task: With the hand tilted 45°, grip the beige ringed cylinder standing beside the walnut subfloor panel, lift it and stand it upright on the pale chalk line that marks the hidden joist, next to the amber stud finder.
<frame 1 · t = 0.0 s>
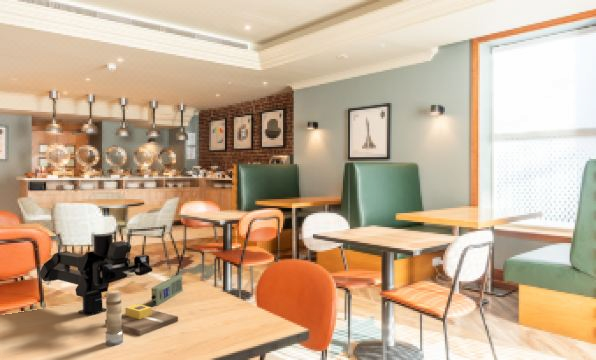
hand: (139, 272, 131), 17 cm above the table, tool horizontal, fingers open, 9 cm apart
stud finder: (138, 315, 137), point 2 cm above the table, touching subfloor panel
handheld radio: (164, 301, 159), on the table
subfloor panel: (142, 322, 135), on the table
beige ringed cylinder: (114, 342, 119), on the table
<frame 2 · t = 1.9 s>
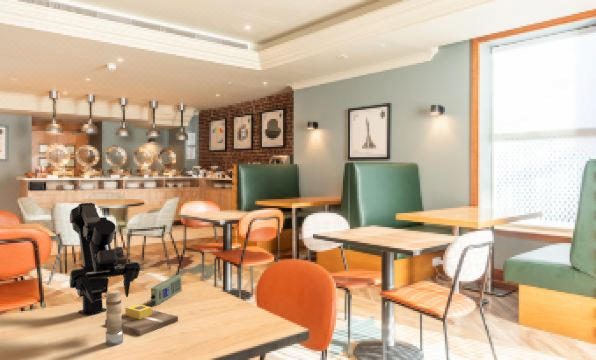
hand: (110, 299, 122), 11 cm above the table, tool tilted 45°, fingers open, 9 cm apart
nothing on the table moved.
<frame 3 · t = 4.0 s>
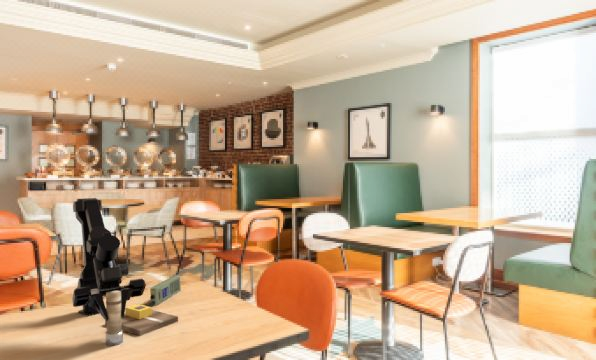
hand: (115, 318, 118), 7 cm above the table, tool tilted 45°, fingers closed on beige ringed cylinder, 4 cm apart
beige ringed cylinder: (114, 342, 119), on the table, touching gripper
everything else where it was.
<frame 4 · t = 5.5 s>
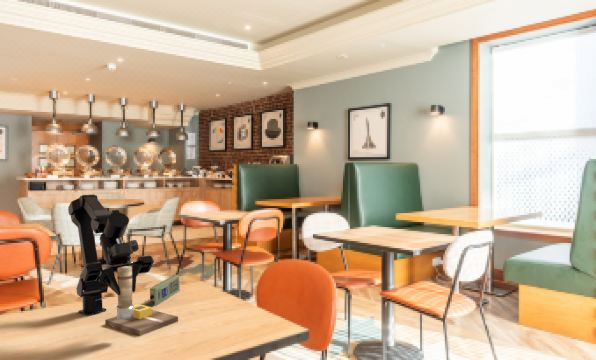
hand: (126, 293, 121), 13 cm above the table, tool tilted 45°, fingers closed on beige ringed cylinder, 4 cm apart
beige ringed cylinder: (125, 316, 122), point 6 cm above the table, touching gripper
everything else where it was.
when the fingers open (10 cm above the table, at t = 7.5 s): beige ringed cylinder drops 1 cm, resting on subfloor panel.
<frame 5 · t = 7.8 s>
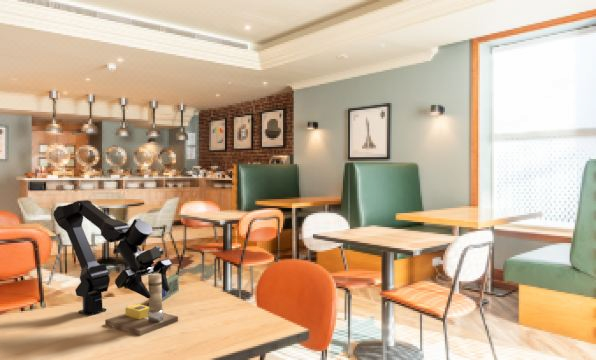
hand: (159, 294, 132), 10 cm above the table, tool tilted 45°, fingers open, 7 cm apart
beige ringed cylinder: (155, 320, 132), point 2 cm above the table, touching subfloor panel
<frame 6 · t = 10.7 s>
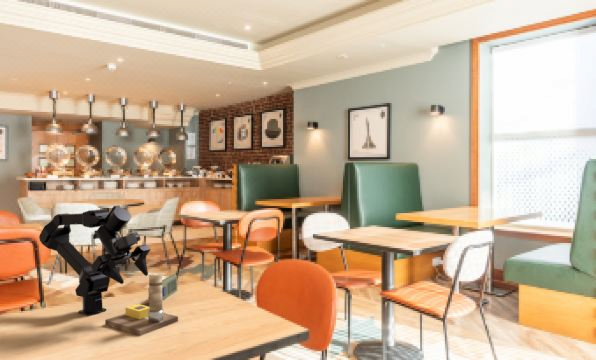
hand: (135, 279, 136), 14 cm above the table, tool tilted 45°, fingers open, 9 cm apart
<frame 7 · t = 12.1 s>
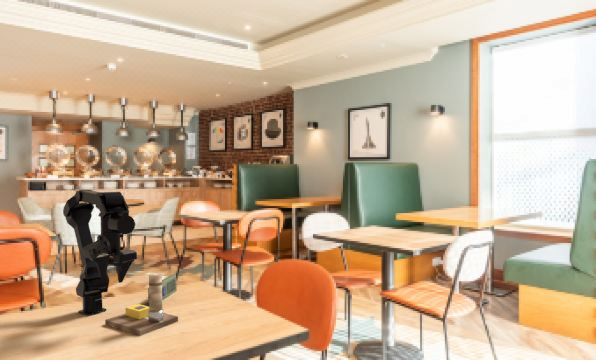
hand: (111, 280, 136), 13 cm above the table, tool pointing down, fingers open, 9 cm apart
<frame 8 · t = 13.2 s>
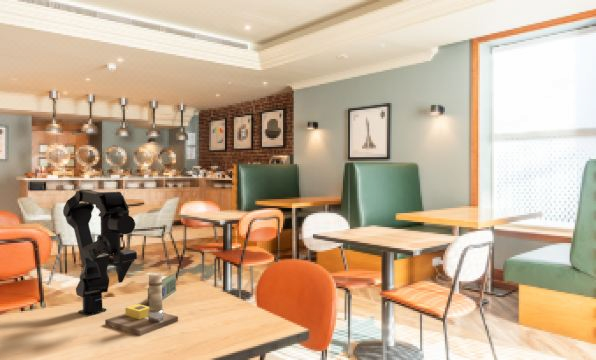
hand: (111, 280, 136), 13 cm above the table, tool pointing down, fingers open, 9 cm apart
at the end: beige ringed cylinder 0.5 cm from the target spot, point 1.6 cm above the table; beige ringed cylinder tilted 0°; the gripper is holding nothing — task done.
